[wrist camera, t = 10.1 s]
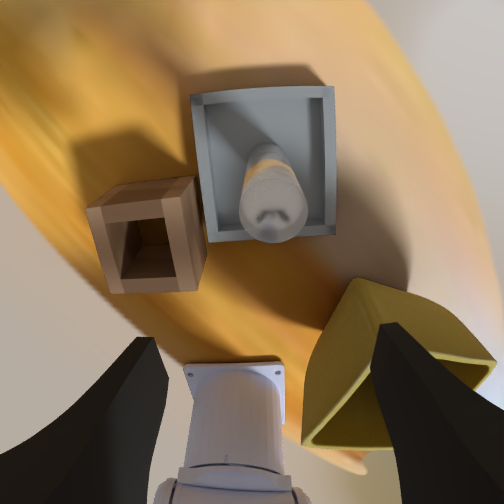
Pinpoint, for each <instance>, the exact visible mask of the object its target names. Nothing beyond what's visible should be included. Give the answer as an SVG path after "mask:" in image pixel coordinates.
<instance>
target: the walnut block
mask: <svg viewBox="0 0 504 504" xmlns="http://www.w3.org/2000/svg"><path fill="white" fill-rule="evenodd" d="M85 210H86V213H87V217H88V221H89V225H90V229H91V232H92V236H93V239H94V243H95V246H96V250H97V253H98V256H99V259H100V263H101V266H102V269H103V272H104V275H105V278H106V281H107V284H108V287H109V290H110V293H111V294H125V293H161V292H188V291H197V289H198V286H199V282H200V278H201V275H202V271H203V268H204V264H205V260H206V257H207V249H206V243H205V237H204V230H203V223H202V217H201V210H200V203H199V196H198V188H197V181H196V175H193V176H184V177H175V178H167V179H159V180H151V181H144V182H136V183H129V184H123V185H116V186H115V187H113V188H112V189H111V190H109V191H108V192H107V193H105V194H104V195H103V196H101V197H100V198H99V199H97V200H96V201H95V202H93V203H92V204H91V205H89V206H88V207H87V208H86V209H85ZM153 218H165V224H166V229H167V234H168V239H169V244H159V245H145V246H143V245H142V241H141V237H140V233H139V228H138V224H137V220H143V219H153Z"/></svg>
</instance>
